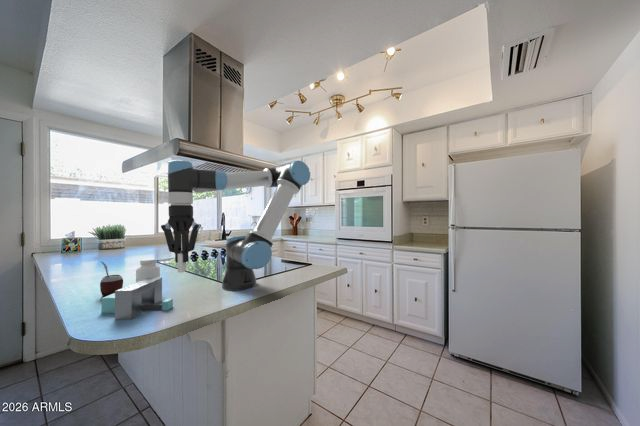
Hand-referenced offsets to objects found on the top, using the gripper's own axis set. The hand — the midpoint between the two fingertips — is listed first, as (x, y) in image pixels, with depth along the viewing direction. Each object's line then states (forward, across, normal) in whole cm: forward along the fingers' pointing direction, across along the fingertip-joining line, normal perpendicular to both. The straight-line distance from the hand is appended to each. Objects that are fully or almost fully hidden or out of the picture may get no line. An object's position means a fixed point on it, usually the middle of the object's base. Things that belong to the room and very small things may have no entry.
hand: (182, 271), depth 85 cm
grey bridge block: (+13, +14, 0) cm, 19 cm away
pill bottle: (+13, +21, -14) cm, 28 cm away
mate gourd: (+13, +36, -15) cm, 41 cm away
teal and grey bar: (+13, +15, 0) cm, 19 cm away
